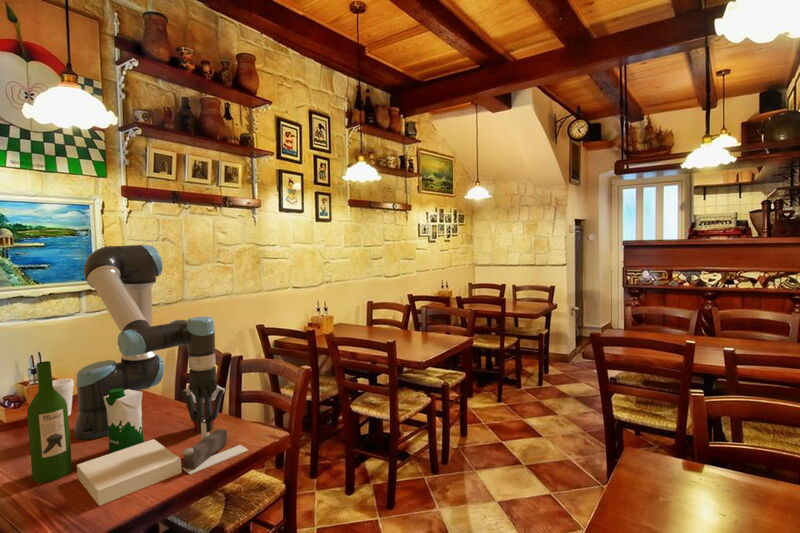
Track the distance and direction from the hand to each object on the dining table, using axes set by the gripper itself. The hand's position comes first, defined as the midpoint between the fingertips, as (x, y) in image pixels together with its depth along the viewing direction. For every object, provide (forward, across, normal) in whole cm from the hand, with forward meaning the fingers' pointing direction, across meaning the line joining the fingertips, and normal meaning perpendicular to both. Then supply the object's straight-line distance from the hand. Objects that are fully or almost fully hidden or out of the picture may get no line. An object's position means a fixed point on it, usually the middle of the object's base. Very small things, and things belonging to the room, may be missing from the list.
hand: (205, 441), depth 138 cm
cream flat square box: (+3, -16, -13) cm, 21 cm away
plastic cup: (+3, -7, +17) cm, 19 cm away
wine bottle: (+4, -39, -10) cm, 41 cm away
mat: (+3, +5, -6) cm, 8 cm away
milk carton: (+4, -26, +4) cm, 26 cm away
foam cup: (+4, -68, +36) cm, 77 cm away
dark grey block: (+2, +1, -4) cm, 5 cm away
